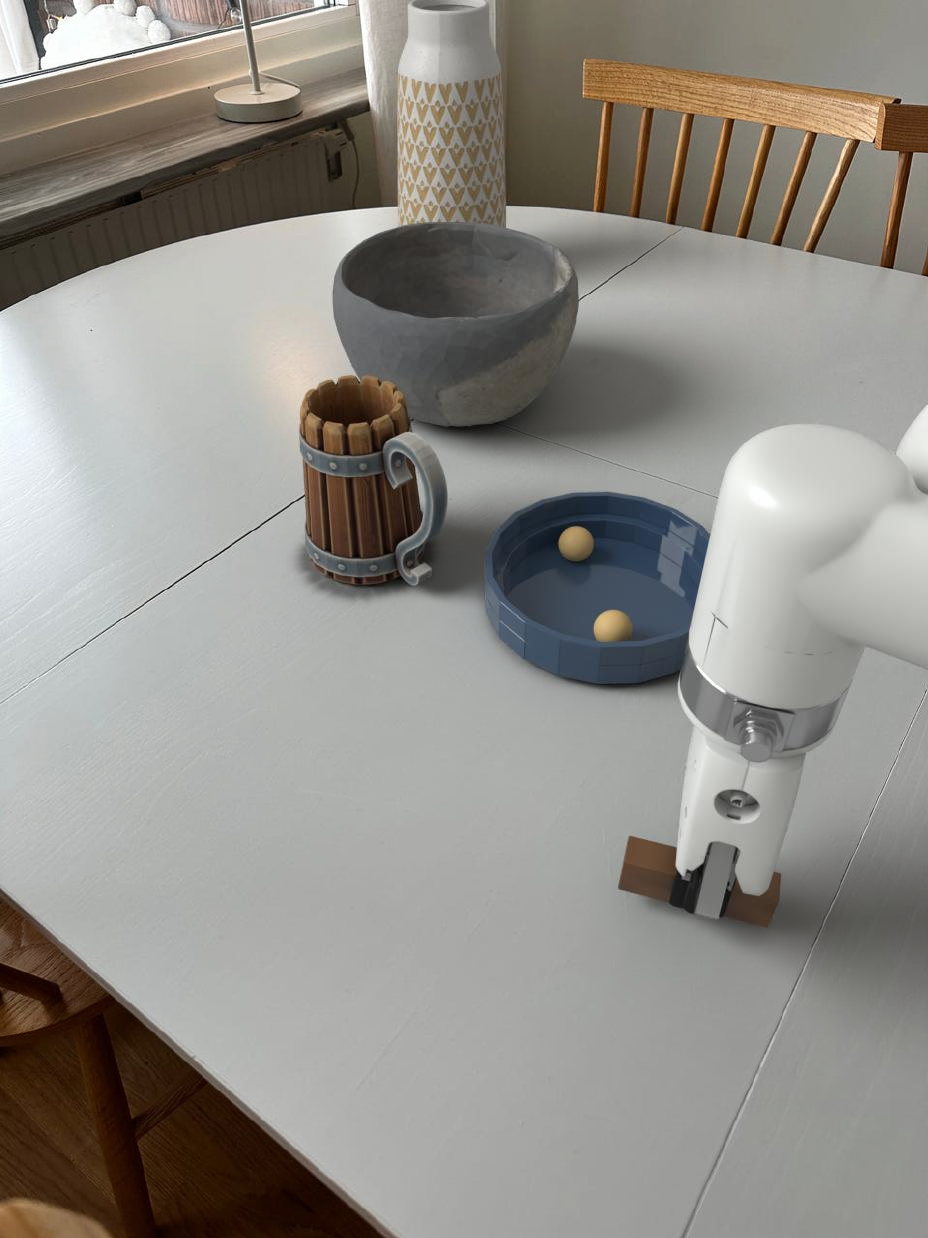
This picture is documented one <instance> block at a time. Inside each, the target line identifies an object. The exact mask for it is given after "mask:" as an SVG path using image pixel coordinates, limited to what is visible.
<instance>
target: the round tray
mask: <svg viewBox="0 0 928 1238" xmlns="http://www.w3.org/2000/svg"><path fill="white" fill-rule="evenodd" d="M574 526H579V527H583V528H585V529H586V530H588V531H589V532H590V534H591V535H592V537H593V540H594V548H593V551H592V553H591V554H590V555H589V557H587V558H586V559H584V560H582V561H577V562H575V561H570V560H568V559H566V558H565V557H564V556H563V555H562V554H561V552H560V550H559V538H560V536H561V534H562V533H563V532H564V531H565V530H566V529H568V528H570V527H574ZM710 534H711V533H710V532H708V530H707V529H706V528H705V526H704V525H702V524H700V523H698V522H697V521H696V520H695V519H692V518H691V517H689V516H688V515H686V514H685V513H683V512H681V511H680V510H679V509H677V508H674V507H671V506H668V505H666V504H663V503H661V502H658V501H655V500H653V499H649V498H646V497H644V496H638V495H632V494H626V493H620V492H614V491H582V492H581V491H580V492H579V491H578V492H576V491H575V492H570V493H564V494H560V495H556V496H552V497H546V498H543V499H539V500H538V501H535V502H534V503H533V502H532V504H529V505H527V506H525V507H523V508H521V509H519V510H517V511H515V512H513V513H512V514H511V515H510V516H509V517H508V518H507V519H506V520H505V521H503V523H501V524H500V525H499V526H498V527H497V528H496V529H495V530H494V532H493V534H492V536H491V539H490V541H489V542H488V545H487V546H486V550H485V552H484V577H483V578H484V580H483V581H484V584H483V585H484V586H483V587H484V588H483V591H484V605H485V615H486V616H487V618H488V620H489V622H490V624H491V626H492V627H493V629H494V631H495V633H496V636H497V637H498V639H500V641H502V642H503V643H504V644H505V645H506V646H507V647H509V648H510V649H511V650H512V651H513V652H514V653H515V654H516V655H518V656H519V657H520V658H521V659H523V660H524V661H526V662H528V663H530V664H532V665H534V666H537V667H538V668H540V669H543V670H546V671H547V672H549V673H551V674H554V675H556V676H558V677H563V678H567V679H572V680H577V681H581V682H586V683H592V684H596V685H597V684H599V685H606V684H607V685H608V684H609V685H610V684H611V685H612V684H639V683H642V682H647V681H650V680H654V679H657V678H661V677H666V676H668V675H672V674H675V673H676V672H678V671H679V670H680V671H681V668H682V663H683V659H684V654H685V650H686V645H687V640H688V636H689V631H690V626H691V622H692V617H693V612H694V608H695V603H696V599H697V594H698V590H699V585H700V580H701V576H702V571H703V567H704V562H705V557H706V553H707V548H708V544H709V539H710ZM608 610H618V611H621V612H623V613H625V614H626V615H627V616H628V617H629V618H630V620H631V622H632V625H633V633H632V636H631V639H630V640H629V641H614V642H601V641H597V639H596V637H595V635H594V624H595V621H596V619H597V618H598V617H599V615H601V614H602V613H603V612H605V611H608Z"/></svg>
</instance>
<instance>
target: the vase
mask: <svg viewBox="0 0 928 1238" xmlns="http://www.w3.org/2000/svg"><path fill="white" fill-rule="evenodd" d="M490 29H491V28H490V3H489V2H488V1H487V0H411V1H409V2H408V4H407V39H406V42H405V44H404V47H403V50H402V52H401V55H400V58H399V62H398V66H397V96H396V97H397V103H396V104H397V108H396V111H397V113H396V119H397V120H396V121H397V122H396V123H397V124H396V125H397V131H396V132H397V139H396V140H397V221H398V222H397V223H398V226H397V227H400V226H403V225H409V224H415V223H424V222H470V223H485V224H492V225H496V226H500V227H505V228H507V190H506V189H507V188H506V185H507V184H506V157H505V156H506V153H505V124H504V122H505V121H504V99H503V98H504V97H503V75H502V73H503V72H502V65H501V62H500V58H499V56H498V53H497V51H496V49H495V48H496V47H495V45H494V43H493V40H492V38H491V34H490V32H491V31H490Z"/></svg>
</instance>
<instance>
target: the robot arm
mask: <svg viewBox="0 0 928 1238" xmlns="http://www.w3.org/2000/svg"><path fill="white" fill-rule="evenodd" d="M716 503H717V504H716V507H715V512H714V517H713V521H712V526H711V530H710V533H709V534H710V539H709V544H708V548H707V553H706V557H705V562H704V567H703V571H702V576H701V580H700V585H699V590H698V594H697V599H696V603H695V608H694V612H693V617H692V622H691V626H690V631H689V636H688V640H687V645H686V650H685V654H684V659H683V663H682V668H681V669H680V673H679V677H678V682H677V696H678V700H679V703H680V706H681V709H682V710H683V712H684V714H685V716H686V717H687V718H688V719H689V721H690V722H691V723H692V725H693V728H692V733H691V737H690V742H689V747H688V752H687V758H686V765H685V772H684V778H683V786H682V794H681V803H680V810H679V823H678V831H677V843H676V847H677V853H676V865H675V866H676V868H677V871H676V875H675V879H674V882H673V886H672V890H671V894H670V899H669V902H668V903H669V905H670V906H672V907H674V908H677V909H681V910H684V911H685V912H687V913H688V914H691V915H694V916H697V917H701V918H703V919H708V920H712V921H716V922H718V921H719V919H721V918H724V917H723V916H724V914H725V911H726V908H727V905H728V902H729V900H730V897H731V894H732V891H733V888H734V885H735V882H736V876H737V879H738V882H739V884H740V887H741V889H742V891H743V893H745V894H751V895H756V896H760V895H762V894H763V893H764V892H766V891H767V890H768V888H769V885H770V882H771V879H772V875H773V872H775V869H776V866H777V862H778V860H779V856H780V852H781V850H782V846H783V844H784V840H785V837H786V833H787V831H788V827H789V824H790V822H791V821H790V820H791V817H792V815H793V810H794V807H795V802H796V799H797V796H798V791H799V788H800V783H801V779H802V774H803V770H804V766H805V761H806V756H807V753H810V752H811V751H813V750H815V749H816V748H818V747H819V746H821V745H822V744H823V743H824V742H825V741H827V740H828V738H829V737H830V735H831V734H832V733H833V731H834V728H835V726H836V723H837V720H838V718H839V716H840V714H841V710H842V708H843V706H844V703H845V701H846V698H847V696H848V693H849V690H850V688H851V685H852V683H853V681H854V676H855V673H856V671H857V669H858V666H859V664H860V661H861V659H862V658H863V657H862V656H863V654H864V652H865V649H866V648H870V649H872V650H874V651H876V652H880V653H882V654H884V655H887V656H890V657H893V658H895V659H897V660H898V659H899V660H901V661H903V662H906V663H909V664H911V665H914V666H916V667H919V668H922V669H924V670H926V671H928V403H927V404H926V405H925V406H924V407H923V409H922V410H921V411H920V412H919V413H918V414H917V416H916V417H915V418H914V420H913V421H912V423H911V424H910V426H909V427H908V429H907V431H906V432H905V434H904V435H903V437H902V438H901V440H900V442H899V445H898V447H897V450H896V452H893V451H892V449H890V448H889V447H888V446H886V445H884V444H883V443H882V442H880V441H878V440H876V439H874V438H872V437H870V436H868V435H866V434H863V433H862V432H861V433H860V432H858V431H855V430H854V429H853V430H852V429H849V428H845V427H841V426H836V425H831V424H825V423H791V424H784V425H779V426H775V427H773V428H769V429H766V430H763V431H761V432H759V433H757V434H755V435H754V436H752V437H751V438H749V439H748V440H747V441H746V442H744V443H743V444H741V446H740V447H739V448H738V449H737V450H736V452H735V453H734V454H733V456H732V457H731V459H730V461H729V463H728V465H727V466H726V468H725V471H724V475H723V478H722V482H721V485H720V489H719V493H718V498H717V502H716ZM704 860H705V861H704Z"/></svg>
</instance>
